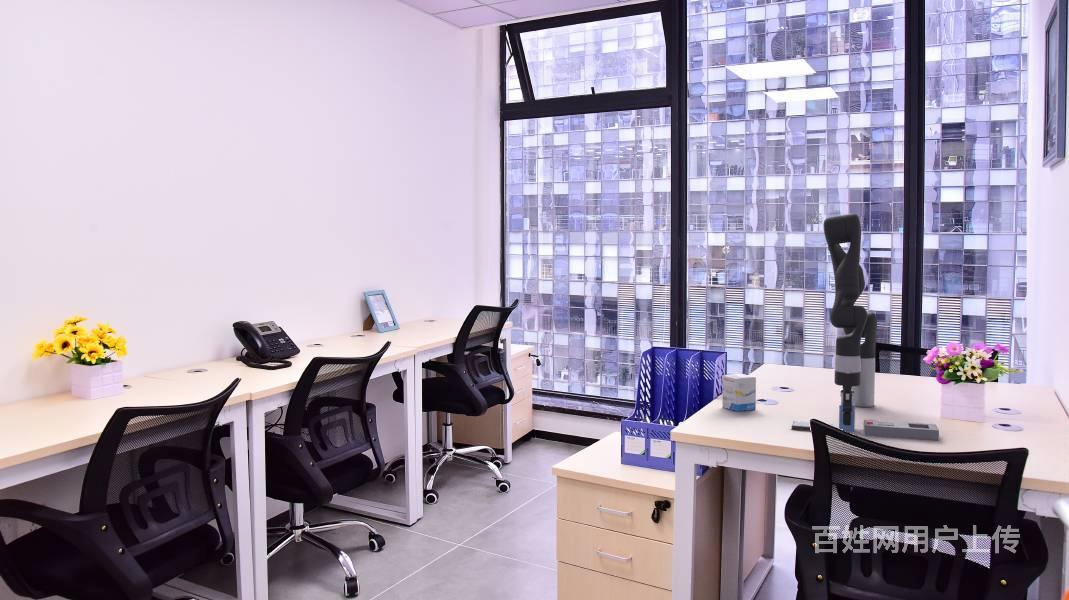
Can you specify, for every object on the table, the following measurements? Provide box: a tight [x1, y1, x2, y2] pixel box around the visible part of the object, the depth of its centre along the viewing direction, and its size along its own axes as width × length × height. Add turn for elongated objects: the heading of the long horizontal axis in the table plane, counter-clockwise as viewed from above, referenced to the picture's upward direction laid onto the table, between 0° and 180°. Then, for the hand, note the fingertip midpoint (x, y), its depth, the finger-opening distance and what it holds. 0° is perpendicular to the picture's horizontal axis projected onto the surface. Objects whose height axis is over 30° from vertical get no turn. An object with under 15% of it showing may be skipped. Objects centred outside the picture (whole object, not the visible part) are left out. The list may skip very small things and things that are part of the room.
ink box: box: [721, 373, 757, 412], centre depth 275 cm, size 9×8×12 cm
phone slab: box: [791, 420, 834, 432], centre depth 245 cm, size 7×12×1 cm, turn 69°
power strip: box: [863, 419, 940, 441], centre depth 236 cm, size 8×20×4 cm, turn 69°
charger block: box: [838, 401, 856, 433], centre depth 243 cm, size 4×4×8 cm
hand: (846, 422), depth 243 cm, fingers open, 6 cm apart
